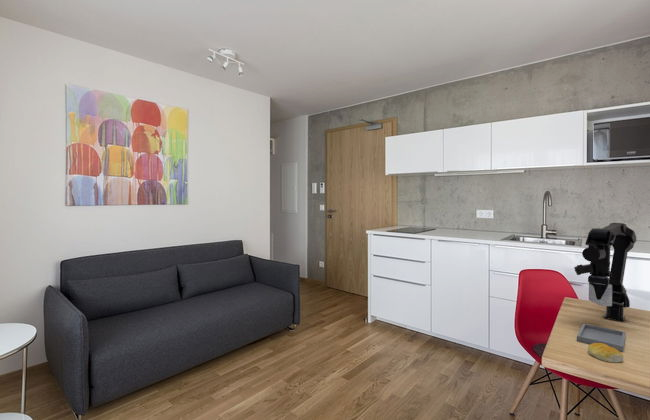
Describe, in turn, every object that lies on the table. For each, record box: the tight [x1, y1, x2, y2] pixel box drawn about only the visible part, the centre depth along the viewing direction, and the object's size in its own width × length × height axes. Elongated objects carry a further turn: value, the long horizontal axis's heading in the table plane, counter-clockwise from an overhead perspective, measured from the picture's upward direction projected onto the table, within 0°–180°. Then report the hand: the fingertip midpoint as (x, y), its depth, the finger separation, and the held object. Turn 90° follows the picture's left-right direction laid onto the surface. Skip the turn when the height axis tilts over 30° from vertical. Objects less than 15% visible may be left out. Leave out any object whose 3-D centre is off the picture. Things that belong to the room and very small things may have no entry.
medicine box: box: [588, 282, 612, 307], centre depth 135 cm, size 8×4×9 cm, turn 168°
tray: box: [576, 323, 626, 353], centre depth 122 cm, size 18×13×2 cm
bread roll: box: [587, 343, 624, 364], centre depth 109 cm, size 8×9×4 cm
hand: (599, 297), depth 135 cm, fingers closed on medicine box, 9 cm apart
